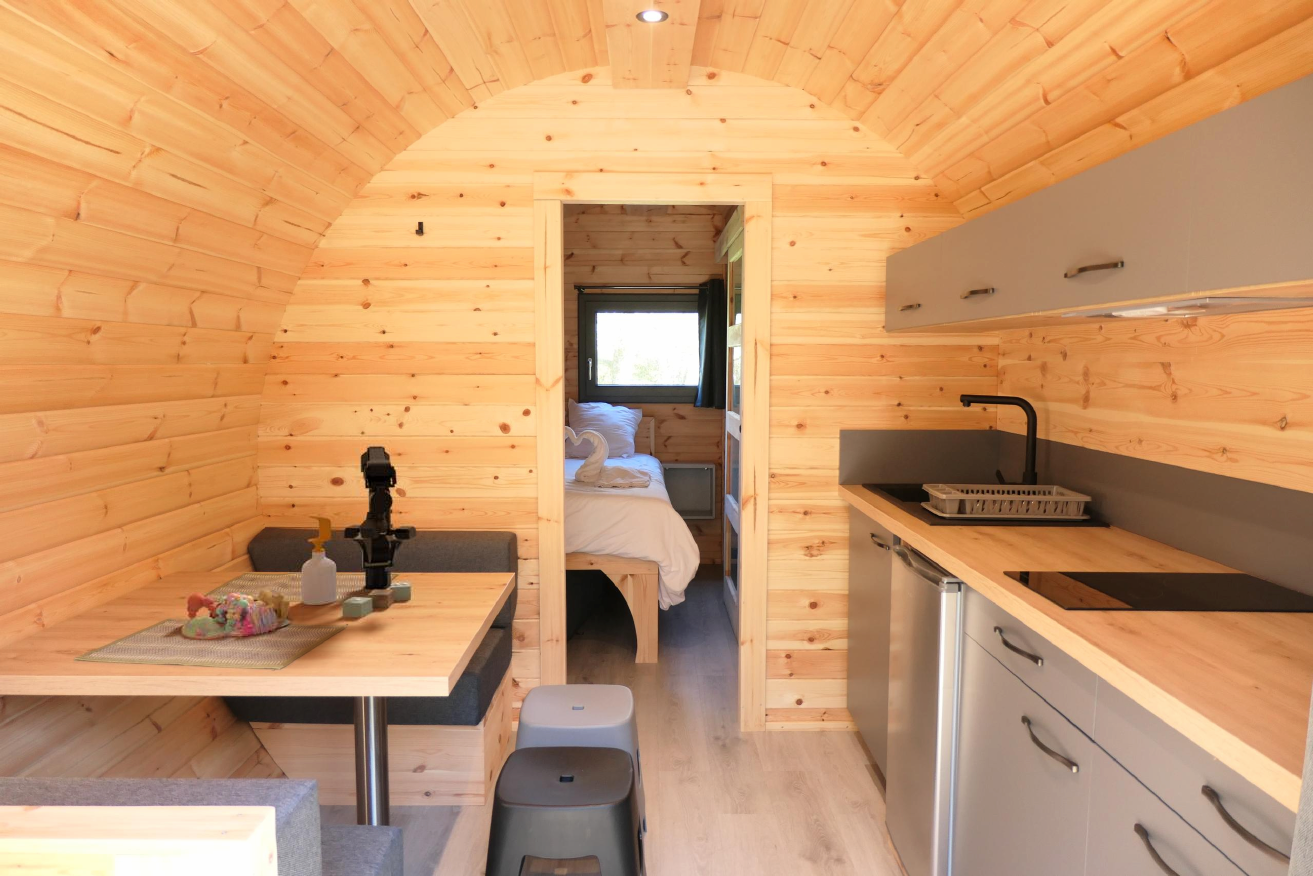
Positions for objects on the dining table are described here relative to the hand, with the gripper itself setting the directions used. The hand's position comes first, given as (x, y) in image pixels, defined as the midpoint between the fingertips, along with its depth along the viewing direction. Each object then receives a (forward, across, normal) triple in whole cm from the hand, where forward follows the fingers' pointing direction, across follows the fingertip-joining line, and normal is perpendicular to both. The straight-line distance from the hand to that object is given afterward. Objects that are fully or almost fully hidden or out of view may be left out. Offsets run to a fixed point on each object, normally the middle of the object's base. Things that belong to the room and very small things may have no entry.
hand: (380, 563), depth 233 cm
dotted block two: (+12, +2, +9) cm, 15 cm away
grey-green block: (+12, -3, -9) cm, 15 cm away
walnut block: (+12, 0, 0) cm, 12 cm away
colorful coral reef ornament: (+13, -28, -22) cm, 38 cm away
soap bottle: (+12, -19, +2) cm, 23 cm away
